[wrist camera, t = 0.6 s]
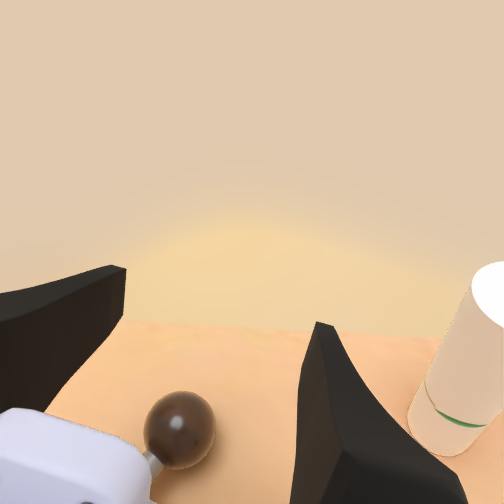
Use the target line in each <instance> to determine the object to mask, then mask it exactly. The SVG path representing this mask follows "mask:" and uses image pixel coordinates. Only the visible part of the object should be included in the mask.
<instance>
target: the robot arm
mask: <svg viewBox="0 0 504 504" xmlns="http://www.w3.org/2000/svg"><path fill="white" fill-rule="evenodd" d="M125 280H126V269H125V268H121V267H118V266H114V265H108V266H104V267H100V268H96V269H93V270H90V271H87V272H84V273H80V274H77V275H74V276H70V277H67V278H64V279H61V280H57V281H53V282H49V283H46V284H42V285H38V286H35V287H31V288H26V289H22V290H17V291H11V292H5V293H0V504H157V503H156V502H154V501H152V500H150V487H151V480H152V476H151V472H150V467H149V463H148V461H147V459H146V458H145V457H144V455H143V454H142V453H141V452H140V451H139V450H138V449H137V447H136V446H135V445H133V444H131V443H129V442H127V441H125V440H123V439H122V438H120V437H118V436H115V435H112V434H108V433H105V432H102V431H99V430H96V429H93V428H90V427H86V426H83V425H80V424H77V423H74V422H71V421H68V420H64V419H61V418H58V417H55V416H52V415H49V414H46V413H44V412H45V410H46V409H47V407H48V406H49V405H50V403H51V402H52V401H53V399H54V398H55V397H56V395H57V394H58V393H59V391H60V390H61V388H62V387H63V386H64V385H65V384H66V383H67V381H68V380H69V379H70V378H71V377H72V376H73V375H74V373H75V372H76V371H77V370H78V369H79V368H80V367H81V366H82V365H83V364H84V363H85V362H86V360H87V359H88V358H89V357H90V356H91V355H92V354H93V353H94V352H95V351H96V350H97V348H98V347H99V346H100V345H101V344H102V343H103V342H104V341H105V340H106V338H107V337H108V336H109V335H110V333H111V332H112V331H113V329H114V328H115V326H116V325H117V323H118V322H119V320H120V319H121V317H122V316H123V308H124V295H125V282H126V281H125ZM290 504H468V501H467V498H466V495H465V492H464V490H463V487H462V485H461V483H460V480H459V478H458V476H457V474H456V473H454V472H453V471H452V470H451V469H449V468H448V467H447V466H446V465H444V464H443V463H442V462H440V461H439V460H438V459H437V458H435V457H434V456H433V455H432V454H430V453H429V452H428V451H427V450H425V449H424V448H423V447H422V446H421V445H420V444H419V443H418V442H417V441H415V440H414V439H413V438H412V437H411V436H410V435H409V434H408V433H407V432H406V431H405V430H404V429H403V428H402V427H401V426H400V425H399V424H398V423H397V422H396V421H395V420H394V419H393V418H392V417H391V416H390V415H389V413H388V412H387V411H386V410H385V409H384V408H383V407H382V405H381V404H380V403H379V402H378V400H377V399H376V398H375V397H374V395H373V394H372V393H371V391H370V390H369V389H368V387H367V386H366V385H365V383H364V382H363V380H362V379H361V377H360V375H359V374H358V372H357V371H356V369H355V367H354V365H353V364H352V362H351V360H350V358H349V357H348V355H347V353H346V351H345V349H344V347H343V345H342V343H341V341H340V339H339V336H338V334H337V332H336V330H335V328H334V326H331V325H328V324H324V323H320V322H316V324H315V327H314V330H313V333H312V336H311V339H310V342H309V346H308V349H307V352H306V355H305V358H304V361H303V364H302V368H301V374H300V380H299V387H298V403H297V437H296V457H295V467H294V474H293V482H292V489H291V497H290Z"/></svg>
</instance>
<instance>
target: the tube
mask: <svg viewBox="0 0 504 504" xmlns="http://www.w3.org/2000/svg"><path fill="white" fill-rule="evenodd" d="M503 410H504V262H497V263H492V264H489V265H486V266H485V267H483V268H481V269H480V270H479V271H478V272H477V273H476V274H475V276H474V278H473V280H472V282H471V284H470V286H469V288H468V290H467V292H466V294H465V296H464V298H463V300H462V302H461V304H460V306H459V308H458V310H457V312H456V314H455V316H454V318H453V320H452V322H451V324H450V326H449V328H448V330H447V332H446V334H445V336H444V338H443V340H442V342H441V344H440V346H439V348H438V350H437V352H436V354H435V356H434V358H433V360H432V362H431V364H430V367H429V369H428V371H427V373H426V375H425V377H424V379H423V381H422V383H421V385H420V387H419V389H418V391H417V393H416V395H415V397H414V399H413V401H412V403H411V405H410V407H409V409H408V413H407V421H408V426H409V429H410V431H411V433H412V435H413V436H414V438H415V439H416V440H417V441H418V443H419V444H421V445H422V446H423V447H424V448H425V449H427V450H428V451H430V452H432V453H435V454H437V455H441V456H456V455H459V454H461V453H462V452H464V451H465V450H466V449H467V448H468V447H469V446H470V445H471V444H472V443H473V442H474V441H475V440H476V438H477V437H478V436H479V435H480V434H481V433H482V432H483V431H484V430H485V429H486V428H487V427H488V426H489V425H490V424H491V423H492V421H493V420H494V419H495V418H496V417H497V416H498V415H499V414H500V413H501V412H502V411H503Z"/></svg>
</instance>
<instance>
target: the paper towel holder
mask: <svg viewBox="0 0 504 504" xmlns="http://www.w3.org/2000/svg"><path fill="white" fill-rule="evenodd" d="M143 434H144V443H145V446H146V449H147V450H146V451H145V452H144V454H143V455H144V457H145V458H146V459H147V461H148V463H149V467H150V472H151V476H152V480H151V484H152V483H153V481H154V480H155V479H156V478H157V476H158V475H159V474H160V473H161V471H162V470H163V469H164V468H169V469H175V470H179V469H186V468H189V467H191V466H193V465H195V464H197V463H198V462H200V461H201V460H202V459H203V458H204V457H205V456H206V454H207V453H208V452H209V450H210V448H211V447H212V445H213V442H214V439H215V434H216V421H215V416H214V413H213V411H212V409H211V407H210V406H209V404H208V403H207V402H206V401H205V400H204V399H203V398H202V397H200V396H199V395H197V394H195V393H192V392H187V391H178V392H173V393H170V394H168V395H166V396H164V397H162V398H161V399H160V400H158V401H157V402H156V403H155V404H154V406H153V407H152V408H151V410H150V411H149V413H148V415H147V418H146V420H145V424H144V432H143Z"/></svg>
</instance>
